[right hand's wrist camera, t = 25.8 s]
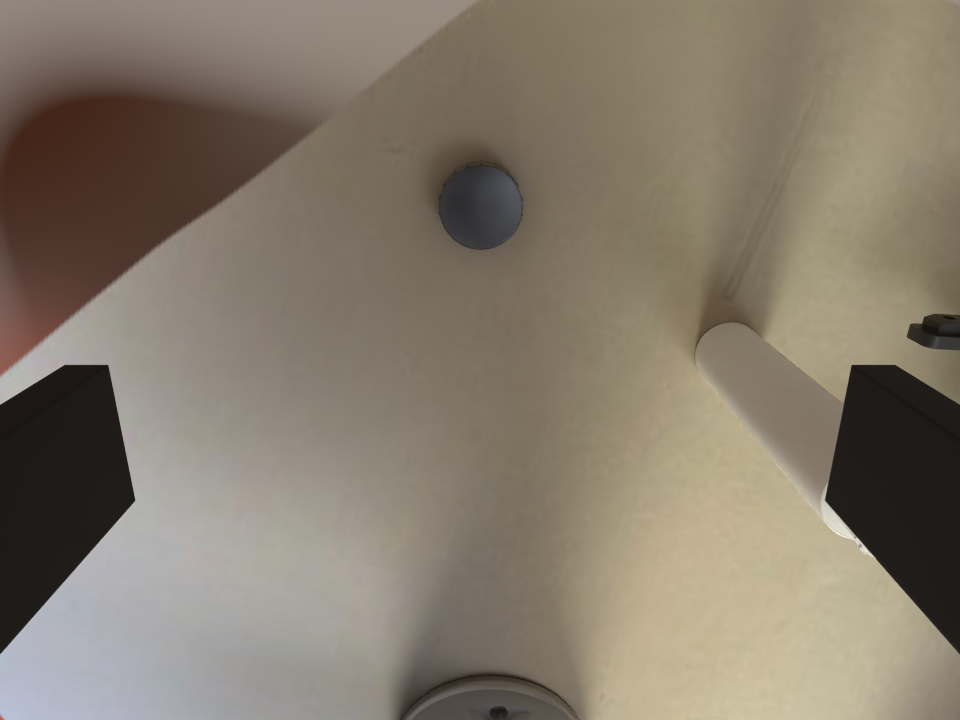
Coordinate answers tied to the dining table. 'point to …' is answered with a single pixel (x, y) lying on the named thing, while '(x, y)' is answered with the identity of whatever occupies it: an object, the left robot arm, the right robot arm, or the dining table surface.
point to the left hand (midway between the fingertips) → (894, 409)
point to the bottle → (777, 410)
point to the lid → (480, 205)
